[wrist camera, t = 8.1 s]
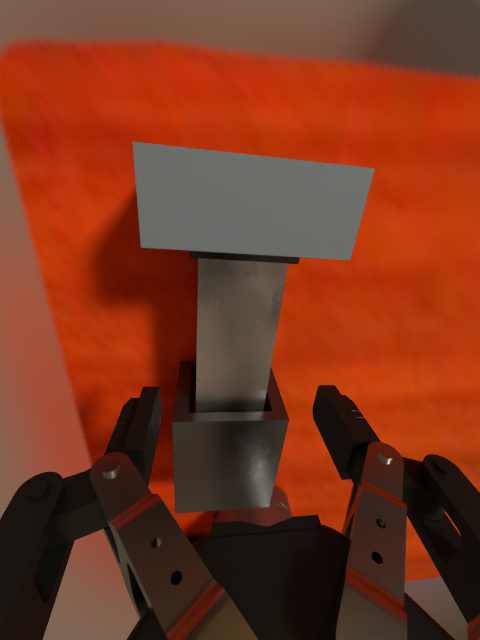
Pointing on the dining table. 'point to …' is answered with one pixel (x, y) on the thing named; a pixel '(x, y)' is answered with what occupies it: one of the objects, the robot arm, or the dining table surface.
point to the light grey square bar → (236, 328)
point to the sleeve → (225, 451)
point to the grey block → (247, 203)
